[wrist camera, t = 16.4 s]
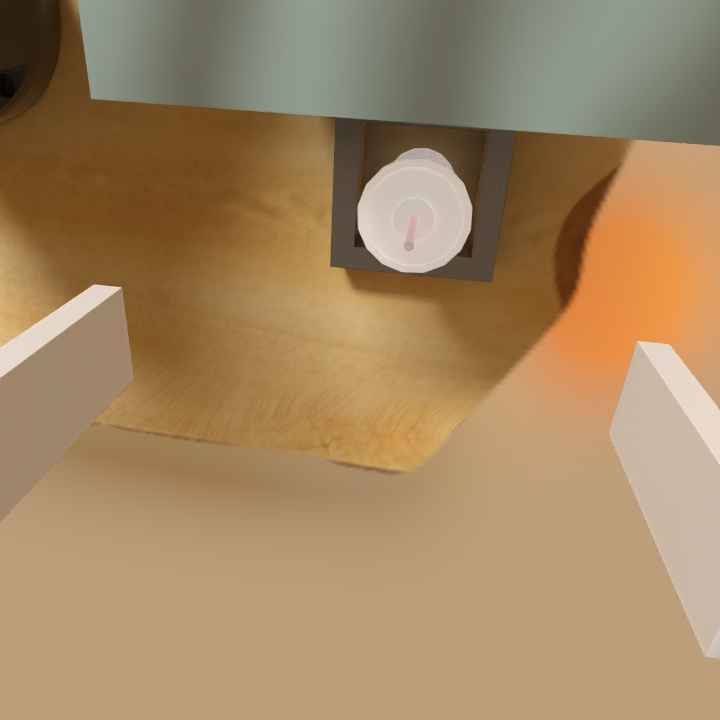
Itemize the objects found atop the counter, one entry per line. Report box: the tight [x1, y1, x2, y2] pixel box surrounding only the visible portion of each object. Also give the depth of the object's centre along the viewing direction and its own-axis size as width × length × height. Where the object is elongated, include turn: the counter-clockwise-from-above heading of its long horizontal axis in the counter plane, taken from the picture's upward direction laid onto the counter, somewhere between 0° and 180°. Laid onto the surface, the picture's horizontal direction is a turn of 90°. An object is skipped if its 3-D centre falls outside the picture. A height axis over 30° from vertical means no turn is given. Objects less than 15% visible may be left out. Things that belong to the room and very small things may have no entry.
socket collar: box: [330, 117, 516, 282], centre depth 38 cm, size 11×11×3 cm
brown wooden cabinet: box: [77, 0, 720, 146], centre depth 25 cm, size 18×6×24 cm, turn 87°
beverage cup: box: [358, 148, 472, 273], centre depth 34 cm, size 6×6×14 cm
